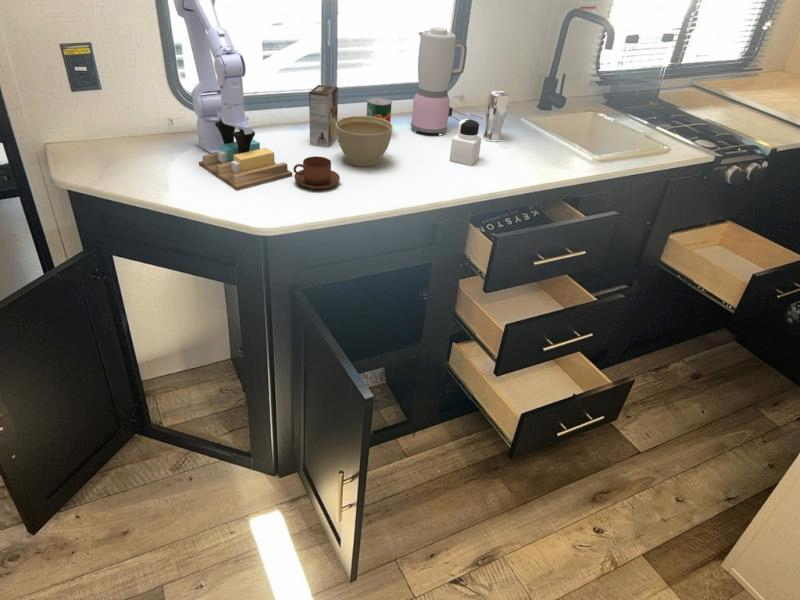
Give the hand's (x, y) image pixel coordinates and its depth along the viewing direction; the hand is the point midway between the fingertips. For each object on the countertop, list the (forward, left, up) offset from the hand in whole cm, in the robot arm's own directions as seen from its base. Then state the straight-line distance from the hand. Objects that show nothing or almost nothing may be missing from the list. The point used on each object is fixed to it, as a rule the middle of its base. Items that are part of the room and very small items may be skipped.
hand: (236, 152), depth 165 cm
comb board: (+4, 0, -4) cm, 6 cm away
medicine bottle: (+32, +59, -4) cm, 67 cm away
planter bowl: (+16, +32, -4) cm, 36 cm away
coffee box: (-3, +32, -4) cm, 32 cm away
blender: (+8, +70, -4) cm, 71 cm away
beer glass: (+24, +82, -4) cm, 86 cm away
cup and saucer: (+21, +11, -4) cm, 25 cm away
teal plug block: (0, +1, -3) cm, 3 cm away
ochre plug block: (+8, +1, -3) cm, 9 cm away
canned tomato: (+1, +51, -4) cm, 51 cm away
